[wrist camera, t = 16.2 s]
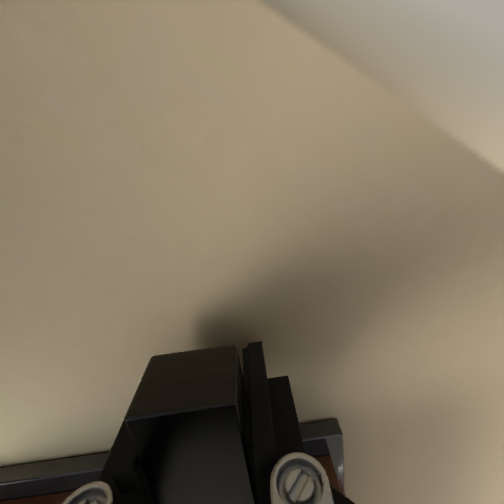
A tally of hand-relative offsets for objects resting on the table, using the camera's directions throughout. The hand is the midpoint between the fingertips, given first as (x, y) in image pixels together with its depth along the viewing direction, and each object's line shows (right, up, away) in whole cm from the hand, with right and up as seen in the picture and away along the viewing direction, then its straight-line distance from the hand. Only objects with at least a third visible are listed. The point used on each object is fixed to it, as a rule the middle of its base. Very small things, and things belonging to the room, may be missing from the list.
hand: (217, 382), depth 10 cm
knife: (+1, -5, +1) cm, 5 cm away
